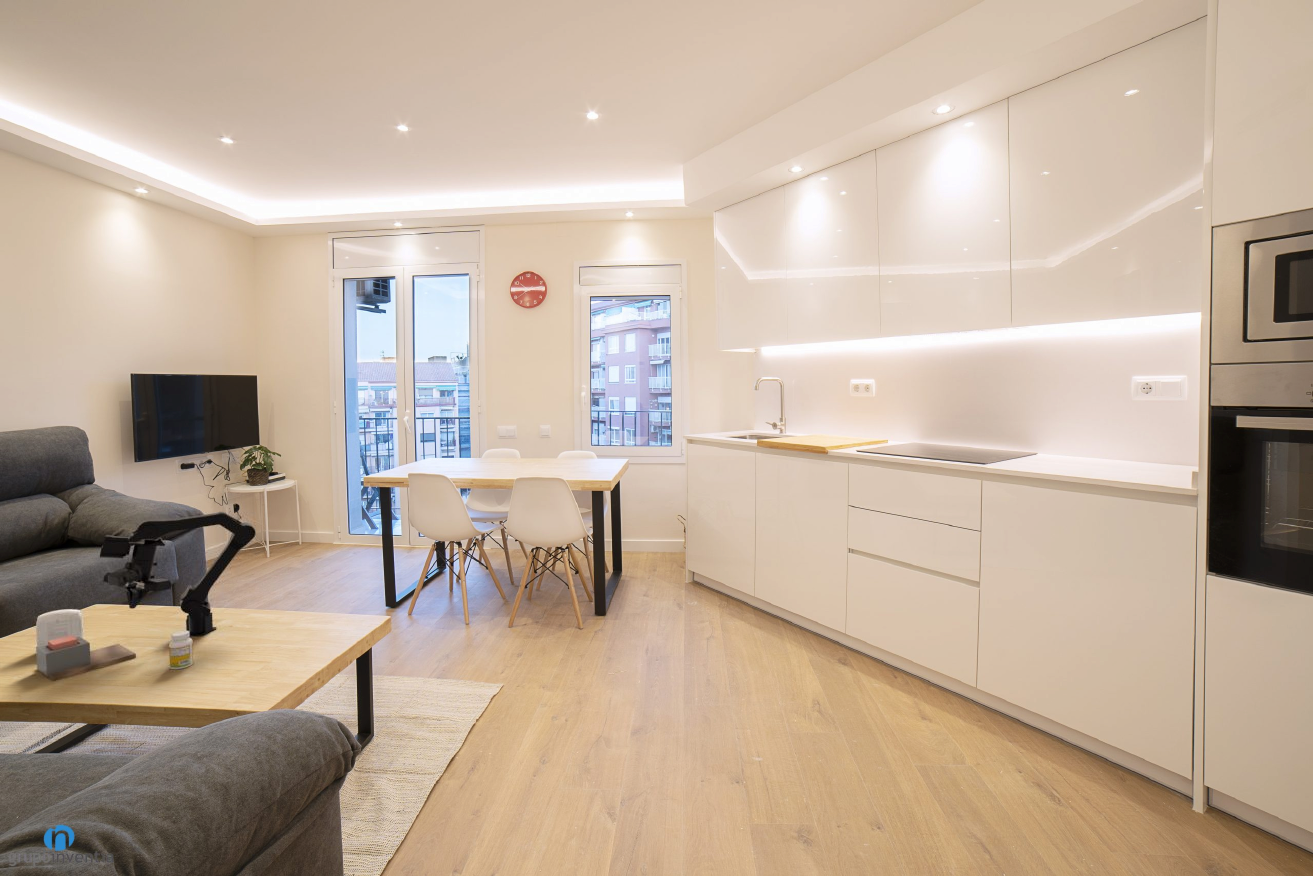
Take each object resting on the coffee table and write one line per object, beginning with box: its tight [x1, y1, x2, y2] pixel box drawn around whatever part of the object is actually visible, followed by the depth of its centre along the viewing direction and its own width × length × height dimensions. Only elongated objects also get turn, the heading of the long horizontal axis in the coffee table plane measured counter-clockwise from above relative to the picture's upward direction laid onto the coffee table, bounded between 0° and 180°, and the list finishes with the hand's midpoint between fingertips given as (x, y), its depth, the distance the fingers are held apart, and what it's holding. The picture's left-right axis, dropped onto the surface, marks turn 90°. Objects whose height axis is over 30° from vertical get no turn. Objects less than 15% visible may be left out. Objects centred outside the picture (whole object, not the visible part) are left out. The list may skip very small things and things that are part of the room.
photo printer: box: [35, 608, 84, 647], centre depth 182 cm, size 10×4×12 cm, turn 123°
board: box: [36, 643, 137, 682], centre depth 173 cm, size 18×14×1 cm
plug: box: [48, 635, 78, 651], centre depth 169 cm, size 5×5×6 cm
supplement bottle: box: [168, 630, 194, 670], centre depth 171 cm, size 5×5×10 cm
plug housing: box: [35, 637, 91, 675], centre depth 169 cm, size 9×9×6 cm
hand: (132, 608), depth 186 cm, fingers closed
